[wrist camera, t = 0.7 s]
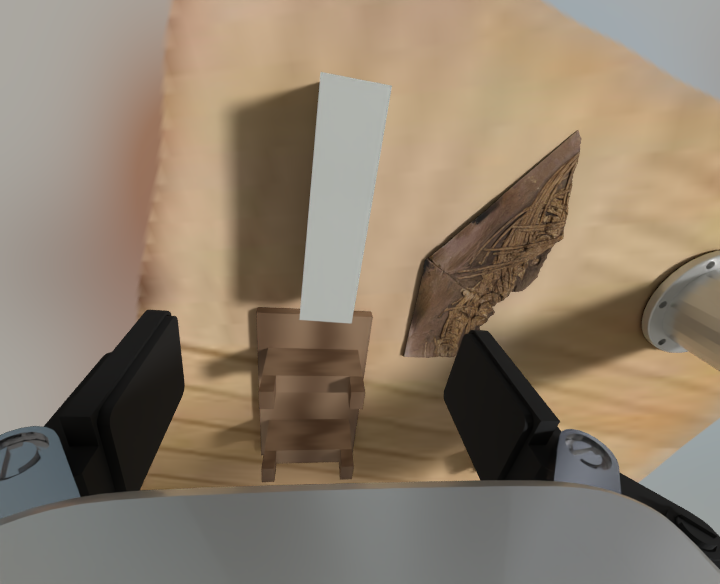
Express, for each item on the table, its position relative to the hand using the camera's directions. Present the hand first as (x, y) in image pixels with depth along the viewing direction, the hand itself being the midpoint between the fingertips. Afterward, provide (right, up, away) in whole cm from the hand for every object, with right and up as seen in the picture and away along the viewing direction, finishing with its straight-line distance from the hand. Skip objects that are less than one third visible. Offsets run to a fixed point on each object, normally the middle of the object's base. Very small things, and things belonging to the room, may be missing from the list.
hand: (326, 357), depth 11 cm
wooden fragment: (+13, +5, +22) cm, 26 cm away
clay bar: (-1, +10, +17) cm, 20 cm away
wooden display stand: (-4, -8, +27) cm, 28 cm away
